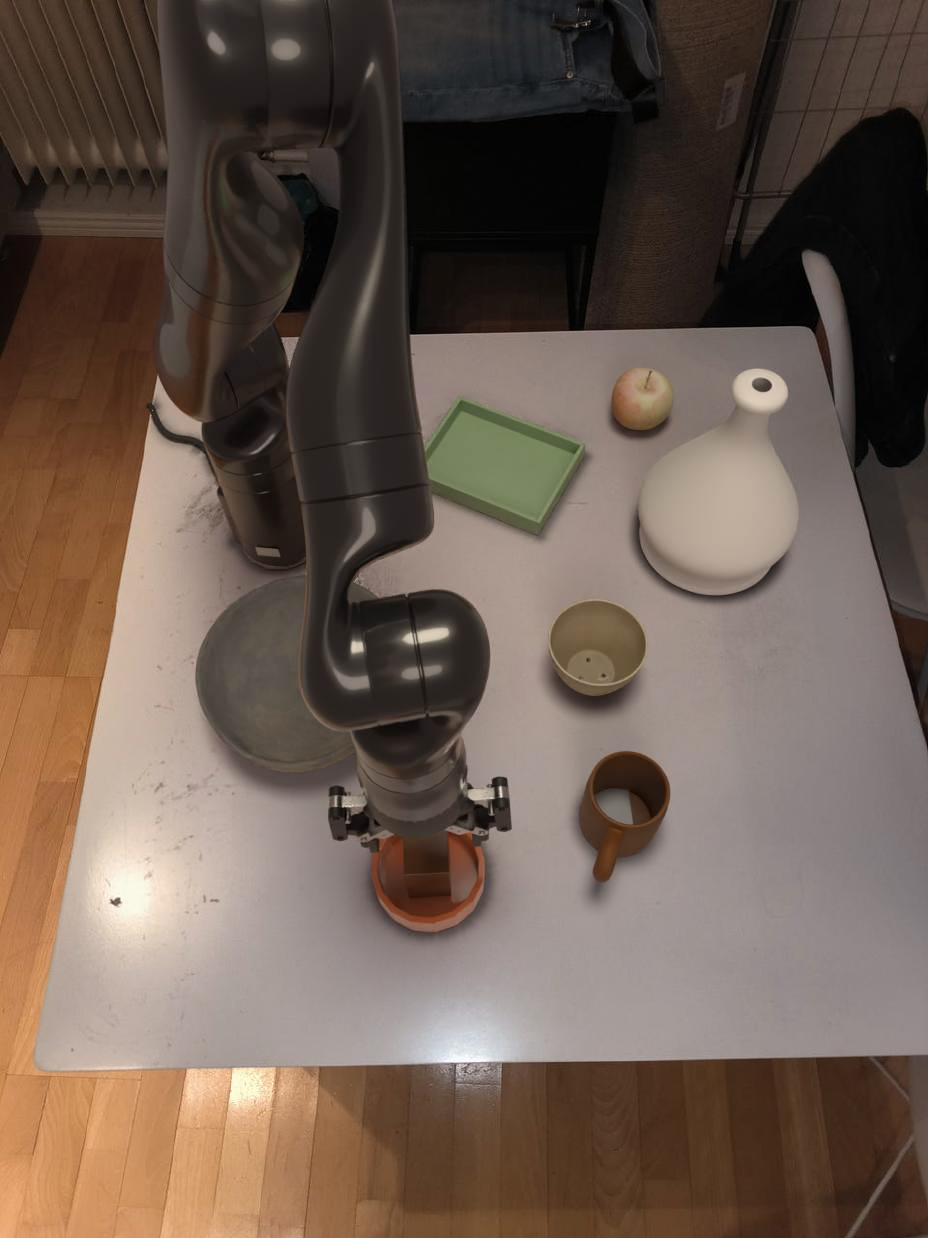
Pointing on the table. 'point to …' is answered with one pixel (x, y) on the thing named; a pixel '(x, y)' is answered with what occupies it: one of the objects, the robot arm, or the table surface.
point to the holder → (436, 909)
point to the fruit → (642, 398)
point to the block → (427, 866)
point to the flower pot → (597, 646)
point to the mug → (646, 807)
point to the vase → (722, 498)
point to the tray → (500, 464)
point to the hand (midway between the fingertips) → (425, 838)
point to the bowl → (266, 681)
